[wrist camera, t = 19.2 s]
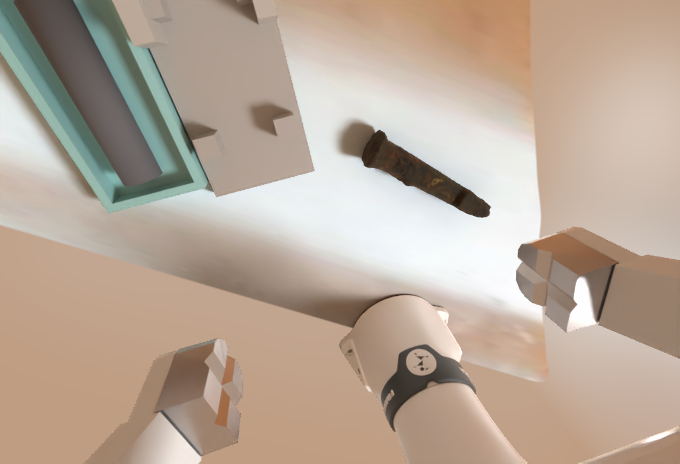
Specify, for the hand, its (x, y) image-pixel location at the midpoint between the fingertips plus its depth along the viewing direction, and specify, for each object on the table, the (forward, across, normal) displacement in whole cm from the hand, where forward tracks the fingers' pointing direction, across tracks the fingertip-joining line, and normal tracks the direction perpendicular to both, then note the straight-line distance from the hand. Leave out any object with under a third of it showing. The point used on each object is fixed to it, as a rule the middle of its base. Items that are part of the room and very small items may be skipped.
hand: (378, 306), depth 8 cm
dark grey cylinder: (+27, +15, -7) cm, 32 cm away
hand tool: (+29, -14, +9) cm, 34 cm away
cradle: (+28, +5, -7) cm, 29 cm away
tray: (+28, +15, -7) cm, 32 cm away
